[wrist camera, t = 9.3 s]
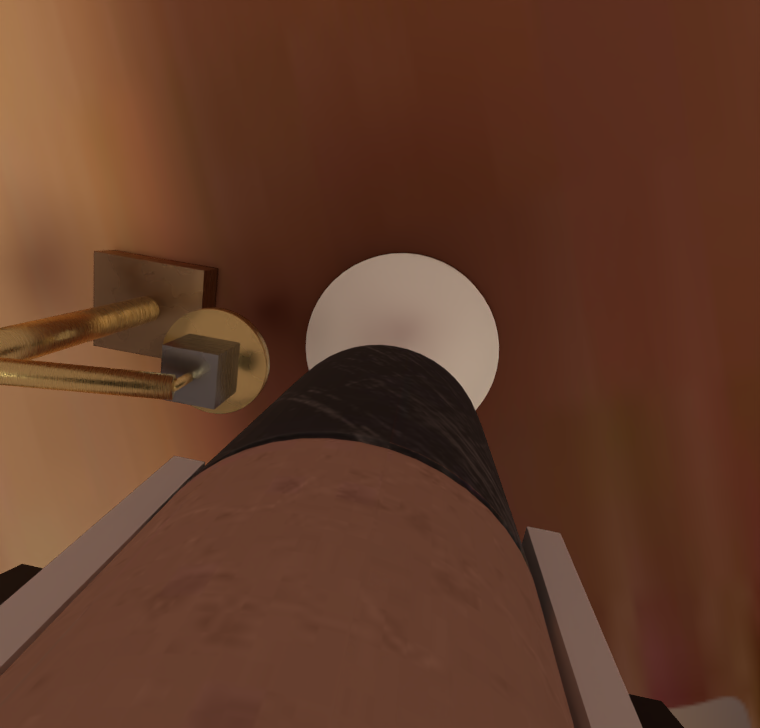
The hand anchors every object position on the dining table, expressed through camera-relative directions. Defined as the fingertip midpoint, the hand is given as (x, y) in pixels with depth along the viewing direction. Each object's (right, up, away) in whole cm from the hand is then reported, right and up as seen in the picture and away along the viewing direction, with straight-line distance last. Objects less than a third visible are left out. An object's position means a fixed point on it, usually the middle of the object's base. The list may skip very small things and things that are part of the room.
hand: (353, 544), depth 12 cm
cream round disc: (+2, +5, +20) cm, 21 cm away
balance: (-14, +8, +21) cm, 26 cm away
